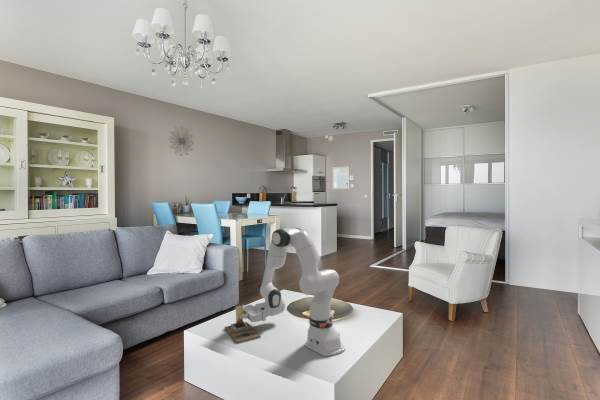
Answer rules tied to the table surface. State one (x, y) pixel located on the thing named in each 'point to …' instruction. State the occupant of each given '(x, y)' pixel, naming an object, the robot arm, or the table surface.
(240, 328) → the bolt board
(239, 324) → the brass peg
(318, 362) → the table surface
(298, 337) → the table surface
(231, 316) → the table surface
